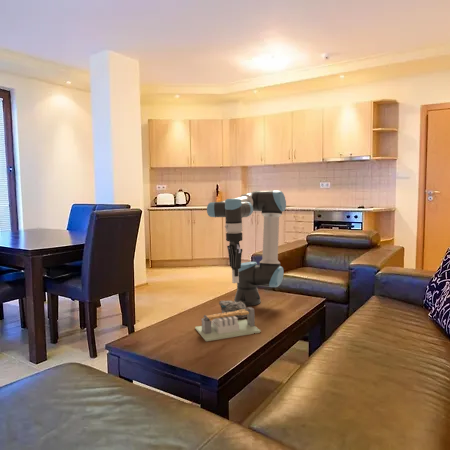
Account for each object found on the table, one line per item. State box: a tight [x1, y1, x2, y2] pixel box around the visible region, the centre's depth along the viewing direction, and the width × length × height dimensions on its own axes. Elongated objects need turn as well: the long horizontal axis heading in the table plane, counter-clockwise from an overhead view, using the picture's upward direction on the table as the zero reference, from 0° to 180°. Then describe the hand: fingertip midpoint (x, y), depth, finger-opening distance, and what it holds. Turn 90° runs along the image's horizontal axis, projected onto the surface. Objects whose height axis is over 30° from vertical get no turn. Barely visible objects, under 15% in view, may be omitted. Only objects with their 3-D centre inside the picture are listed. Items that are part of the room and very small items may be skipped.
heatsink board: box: [194, 306, 262, 342], centre depth 179 cm, size 17×26×9 cm, turn 110°
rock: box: [218, 300, 247, 320], centre depth 198 cm, size 16×8×10 cm, turn 60°
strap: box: [203, 309, 249, 321], centre depth 178 cm, size 21×5×1 cm, turn 110°
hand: (235, 282), depth 179 cm, fingers closed
